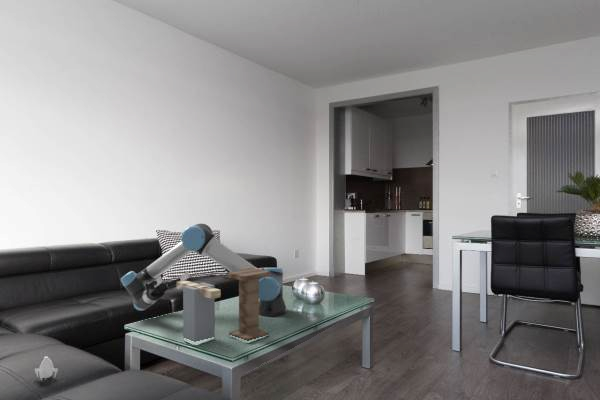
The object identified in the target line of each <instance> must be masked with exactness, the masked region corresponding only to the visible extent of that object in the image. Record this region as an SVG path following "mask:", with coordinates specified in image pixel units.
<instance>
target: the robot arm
mask: <svg viewBox="0 0 600 400" xmlns="http://www.w3.org/2000/svg"><path fill="white" fill-rule="evenodd" d="M180 239H181V241H179V243H177V244H176V245H175V246H173V247H172V248H171V249H169V250H168V251H166V252H165V253H164V254H163V255H161V256H160V257H158V258H157V259H156V260H155V261H153V262H152V263H151V264H149V265H148V266H146V267H145V268H144V269H143V270H140V271H139V272H137V273H136V272H135V271H133V270H131V271H129V272H127V273H126V274H124V275H123V276H122V277H121V278H120V282H121V284H122V286H123V287H124V288H125V290H126V291H127V292H128V293H129V295H130V297H132V299H133V301H132V302H133V303H132V304H133V307H134V309H136V310H137V311H145V310H147V309H148V308H150V307H151V306H152V305H154V304H155V303H156V302H157V301H159V300H160V299H161V298H163V297H164V296H165V293H166V292H167V291H168V290H170V291H172V290H174V289H176V282H178V281H183V280H185V281H187V280H188V279H190V274H189V271H186V272H184V273H183V274H182V275H180V276H179V278H175V279H174V280H171V281H166V282H163V279H162V276H161V275H162V274H164V273H166V272H167V271H168V270H169V269H171V268H172V267H173V266H175V265H177V264H178V263H179V262H181V260H182V259H185V257H187V256H188V255H190V254H191V253H192V252H195V253H197V254H198V255H200V256H202V257H203V256H207V257H208V258H210V259H211V260H212V261H214V262H216V263H217V264H219V265H220V266H221V267H223V268H224V269H226V270H227V271H228V272H233V271H238V270H243V269H249V268H255V269H260V270H265V271H270V276H269V277H264V278H259V316H263V317H278V316H279V317H280V316H282V315H285V314H286V313H287V305H286V303H285V300H284V299H285V298H284V297H283V296H284V291H283V289H284V288H283V285H284V284H283V282H284V280H283V279H284V278H283V277H284V270H283V268H282V267H259V268H258V267H257V266H254V265H253V264H252V263H250V262H249V261H247V260H246V259H244V258H243V257H242V256H240V255H239V254H237V253H236V252H235V251H233V250H232V249H230V248H228V246H226V245H224V244H223V243H221V242H219V240H218V239H217V235H216V234H214V233H213V230H212V228H211V227H210V226H209V225H207V224H205V223H197V224H192V225H189V226H188V227H186V228H185V229H184V230H183V232H182V234H181V238H180Z"/></svg>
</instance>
